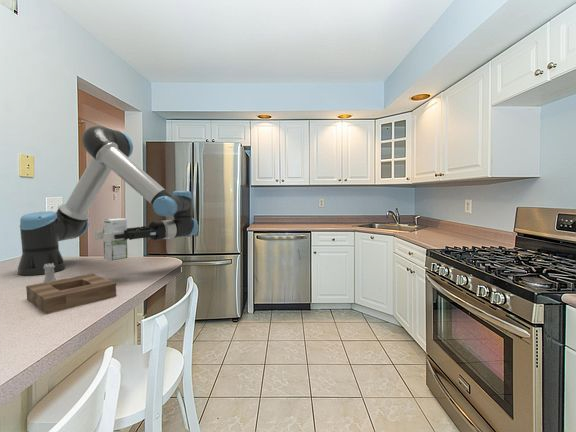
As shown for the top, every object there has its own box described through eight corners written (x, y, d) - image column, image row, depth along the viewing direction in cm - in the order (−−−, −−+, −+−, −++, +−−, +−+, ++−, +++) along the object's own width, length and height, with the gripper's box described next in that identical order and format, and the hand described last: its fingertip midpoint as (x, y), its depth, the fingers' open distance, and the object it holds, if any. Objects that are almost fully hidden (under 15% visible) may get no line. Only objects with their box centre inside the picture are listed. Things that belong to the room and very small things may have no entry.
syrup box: (119, 256, 120) (118, 217, 119) (128, 258, 117) (126, 218, 115) (103, 258, 115) (102, 218, 114) (112, 261, 112) (110, 219, 111)
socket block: (27, 299, 96) (26, 286, 96) (92, 284, 110) (92, 273, 110) (45, 313, 85) (44, 298, 85) (116, 295, 99) (115, 283, 99)
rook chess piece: (44, 286, 109) (42, 263, 108) (60, 284, 111) (58, 262, 110) (40, 290, 105) (38, 266, 104) (56, 288, 107) (55, 264, 106)
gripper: (175, 241, 124) (111, 250, 106) (150, 236, 135) (89, 244, 117) (174, 222, 123) (111, 228, 105) (149, 219, 135) (88, 223, 117)
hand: (99, 236), depth 111 cm, fingers closed on syrup box, 6 cm apart
